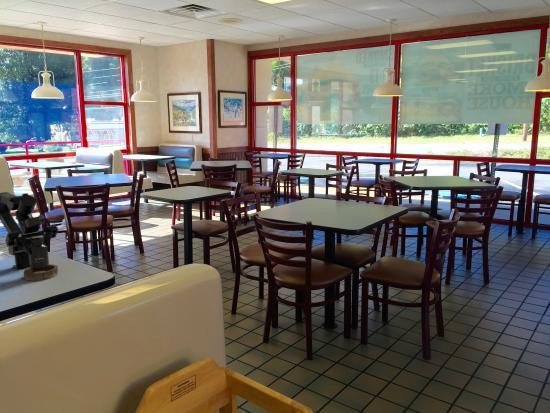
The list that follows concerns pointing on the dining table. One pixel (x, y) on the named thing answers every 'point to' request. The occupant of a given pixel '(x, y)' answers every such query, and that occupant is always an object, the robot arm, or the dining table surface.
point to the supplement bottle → (38, 254)
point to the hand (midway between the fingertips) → (39, 252)
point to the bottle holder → (41, 273)
